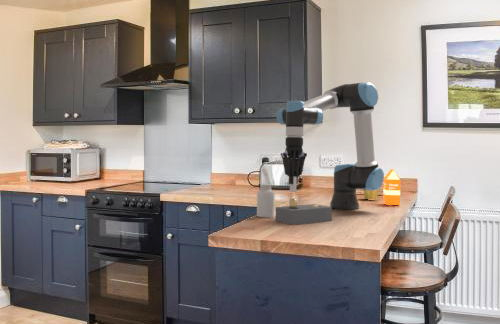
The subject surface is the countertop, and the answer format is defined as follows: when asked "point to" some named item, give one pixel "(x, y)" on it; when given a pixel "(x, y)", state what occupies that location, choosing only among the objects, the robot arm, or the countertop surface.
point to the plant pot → (371, 194)
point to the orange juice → (391, 189)
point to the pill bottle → (265, 201)
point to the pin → (293, 203)
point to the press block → (303, 214)
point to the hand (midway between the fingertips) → (293, 191)
